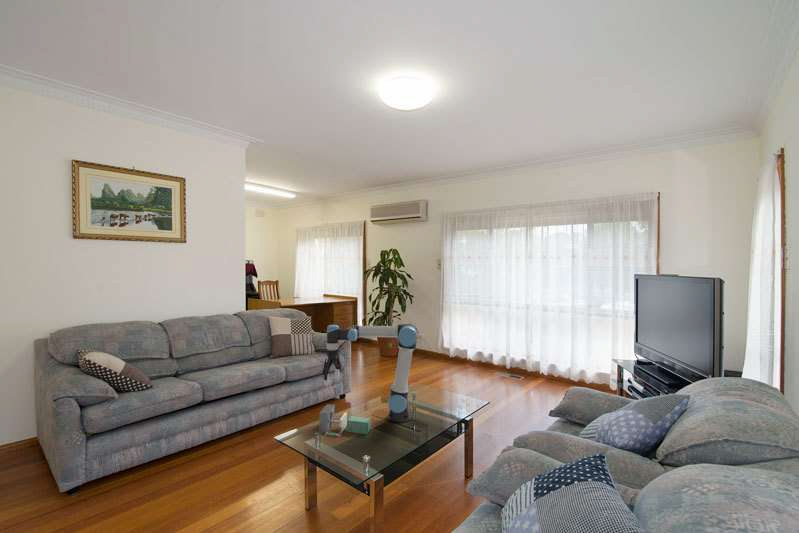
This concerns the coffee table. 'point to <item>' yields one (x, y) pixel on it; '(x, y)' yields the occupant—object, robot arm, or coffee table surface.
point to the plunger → (341, 422)
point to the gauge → (327, 420)
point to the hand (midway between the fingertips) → (331, 382)
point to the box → (358, 425)
